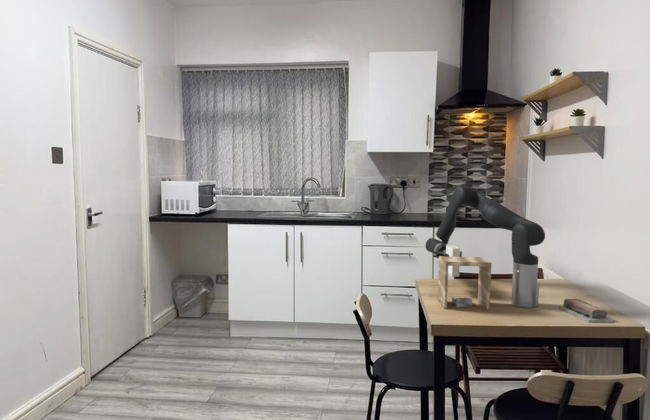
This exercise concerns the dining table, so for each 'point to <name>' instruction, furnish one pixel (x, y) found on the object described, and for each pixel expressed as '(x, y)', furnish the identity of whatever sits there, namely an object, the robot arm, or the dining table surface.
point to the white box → (453, 252)
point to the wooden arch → (483, 281)
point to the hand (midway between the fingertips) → (452, 257)
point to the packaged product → (585, 311)
